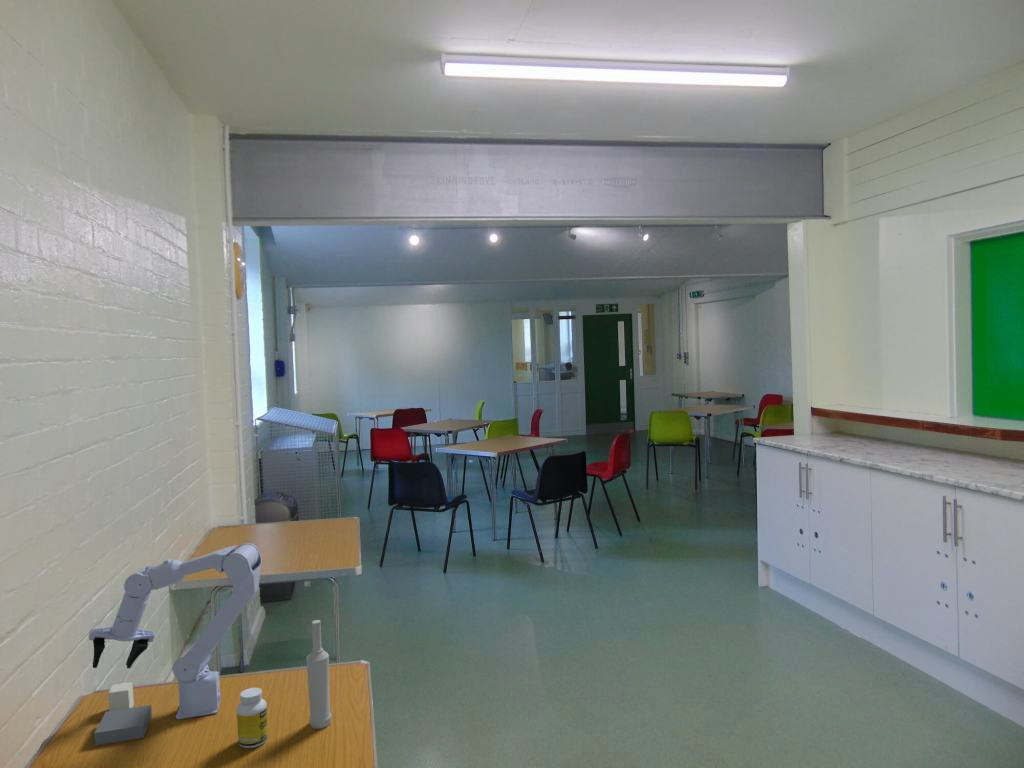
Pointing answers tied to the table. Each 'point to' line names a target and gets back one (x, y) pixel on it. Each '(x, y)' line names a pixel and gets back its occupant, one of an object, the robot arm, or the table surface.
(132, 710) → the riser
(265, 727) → the pill bottle
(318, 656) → the bottle
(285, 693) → the table surface
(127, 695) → the cream block
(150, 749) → the table surface
